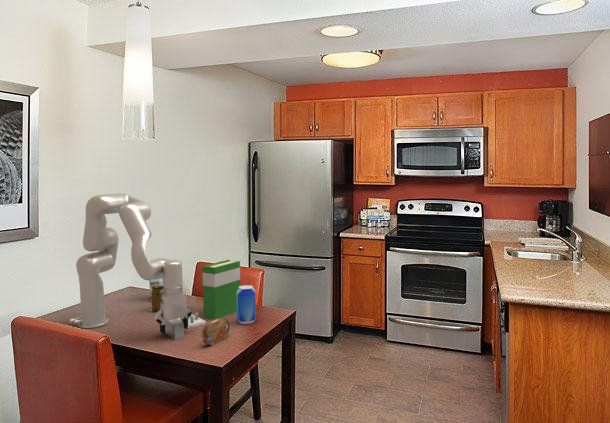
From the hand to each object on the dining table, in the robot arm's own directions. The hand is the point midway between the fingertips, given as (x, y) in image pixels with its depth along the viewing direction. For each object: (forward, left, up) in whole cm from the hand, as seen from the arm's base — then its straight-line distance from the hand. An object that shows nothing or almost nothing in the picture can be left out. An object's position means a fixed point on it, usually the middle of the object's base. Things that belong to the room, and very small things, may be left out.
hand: (174, 330), depth 194 cm
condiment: (+8, +36, -2) cm, 37 cm away
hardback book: (+30, +13, -2) cm, 33 cm away
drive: (0, 0, -2) cm, 2 cm away
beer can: (+32, -5, -2) cm, 32 cm away
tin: (+10, -17, -2) cm, 20 cm away
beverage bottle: (+15, +54, -2) cm, 56 cm away
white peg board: (+11, +13, -2) cm, 17 cm away
